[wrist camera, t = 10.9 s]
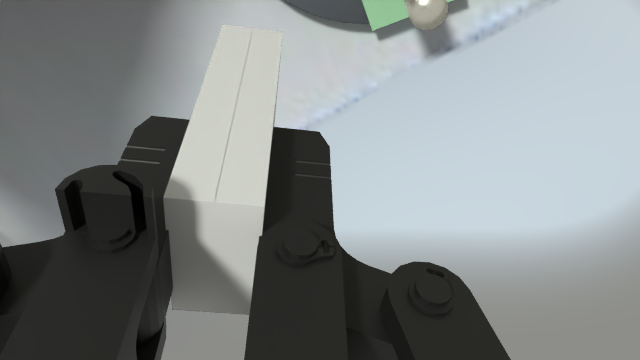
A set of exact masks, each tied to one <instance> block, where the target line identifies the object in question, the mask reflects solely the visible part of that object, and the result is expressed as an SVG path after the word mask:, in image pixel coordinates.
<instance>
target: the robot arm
mask: <svg viewBox="0 0 640 360" xmlns="http://www.w3.org/2000/svg"><path fill="white" fill-rule="evenodd" d="M282 35H283V32H280V31H272V30H264V29H256V28H248V27H240V26H232V25H224V24H223V26H222V29H221V32H220V34H219V37H218V40H217V43H216V46H215V49H214V52H213V55H212V58H211V61H210V63H209V66H208V69H207V72H206V75H205V78H204V81H203V84H202V87H201V89H200V92H199V95H198V98H197V101H196V104H195V107H194V110H193V113H192V116H191V118H190V120H186V119H177V118H167V117H158V116H151V117H150V118H149V119H147V120H146V121H145V122H143V123H142V124H141V125H139V126H138V127H137V128H135V130H134V132H133V134H132V136H131V138H130V140H129V142H128V144H127V148H125V150H124V152H123V154H122V156H121V161H119V162H118V164H117V165H99V166H95V167H91V168H87V169H82V170H80V171H78V172H76V173H74V174H72V175H70V176H68V177H67V178H65V179H64V180H63V181H62V182H61V183H60V184H59V185H58V186H57V187H56V189H55V192H56V196H57V199H58V203H59V207H60V211H61V215H62V219H63V223H64V227H65V230H66V231H65V233H64V235H63V236H60V237H57V238H55V239H50V240H46V241H42V242H36V243H29V244H23V245H16V246H9V247H3V248H2V246H1V244H0V360H160V359H161V356H162V351H163V348H164V344H165V340H166V318H165V316H166V312H167V308H168V305H169V301H170V297H171V299H172V309H173V310H186V311H203V312H216V313H230V314H246V315H249V323H248V324H249V325H248V332H247V341H246V350H245V358H244V360H511V359H510V358H509V356H508V354H507V353H506V351H505V349H504V347H503V346H502V344H501V343H500V341H499V339H498V337H497V336H496V334H495V332H494V330H493V329H492V327H491V325H490V324H489V322H488V320H487V319H486V317H485V315H484V313H483V312H482V310H481V308H480V307H479V305H478V303H477V302H476V300H475V298H474V296H473V295H472V293H471V291H470V290H469V288H468V287H467V286H466V285H465V284H464V282H463V281H462V280H461V279H460V278H459V277H458V276H456V275H455V274H454V273H452V272H451V271H449V270H448V269H446V268H444V267H441V266H438V265H435V264H432V263H429V262H411V263H408V264H405V265H401V266H400V267H398V268H397V269H396V270H395V271H394V272H393V273H392V274H391V273H388V272H385V271H382V270H379V269H376V268H373V267H371V266H368V265H366V264H364V263H362V262H359V261H357V260H356V259H355V258H353V257H352V256H350V255H349V254H348V253H347V252H346V251H345V250H344V249H343V248H342V247H341V246H340V244H339V242H338V240H337V239H336V236H335V232H334V222H333V204H332V184H331V166H330V147H329V145H328V144H327V142H326V141H325V139H324V138H323V137H322V135H321V134H320V132H316V131H307V130H298V129H288V128H278V127H274V122H275V111H276V100H277V89H278V78H279V67H280V57H281V46H282Z"/></svg>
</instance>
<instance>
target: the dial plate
mask: <svg viewBox="0 0 640 360" xmlns="http://www.w3.org/2000/svg"><path fill="white" fill-rule="evenodd" d="M286 1H287V2H289V3H290V4H292V5H294V6H296V7H298V8H300V9H302V10H304V11H306V12H308V13H311V14H314V15H317V16H320V17H323V18H325V19H330V20H335V21H340V22H345V23H358V24H369V23H370V26H371V29H372V31H373V30H376V29H379V28H381V27H384V26H387V25H389V24H392V23H395V22H397V21H400V20H403V19H405V18H408V17H409V15H408V12H407V9H406V7H405V4H404V2H403V0H286ZM446 1H447V3H448V2H450V1H453V0H446Z"/></svg>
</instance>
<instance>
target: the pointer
mask: <svg viewBox="0 0 640 360" xmlns="http://www.w3.org/2000/svg"><path fill="white" fill-rule="evenodd" d="M403 2H404V4H405V7H406V9H407V12H408V15H409V17H410V20H411V22H412V24H413V25H414V26H415V27H417V28H419V29H421V30H431V29H434V28H436V27H438V26H439V25H441V24H442V23H443V21H444V20H445V18H446V16H447V14H448V4H447V1H446V0H403Z"/></svg>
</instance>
